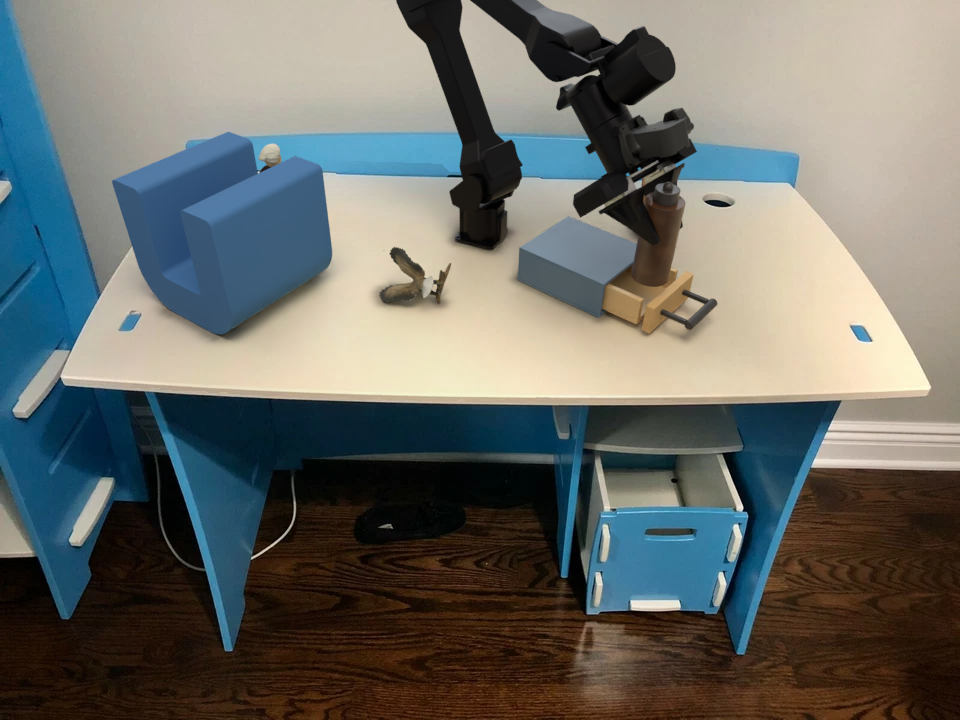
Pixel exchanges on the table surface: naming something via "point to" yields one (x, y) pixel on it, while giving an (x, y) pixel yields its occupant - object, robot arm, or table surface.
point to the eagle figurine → (418, 283)
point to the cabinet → (575, 263)
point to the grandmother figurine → (270, 156)
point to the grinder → (666, 218)
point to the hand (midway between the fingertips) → (668, 236)
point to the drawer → (653, 300)
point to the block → (225, 229)
